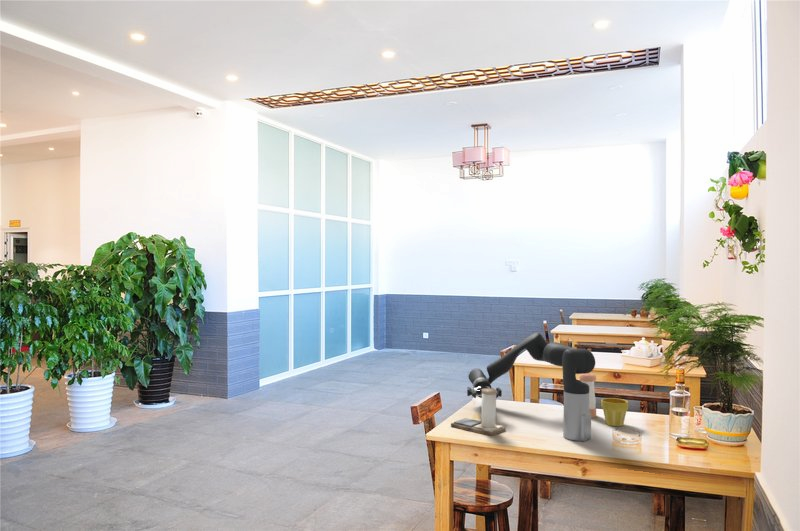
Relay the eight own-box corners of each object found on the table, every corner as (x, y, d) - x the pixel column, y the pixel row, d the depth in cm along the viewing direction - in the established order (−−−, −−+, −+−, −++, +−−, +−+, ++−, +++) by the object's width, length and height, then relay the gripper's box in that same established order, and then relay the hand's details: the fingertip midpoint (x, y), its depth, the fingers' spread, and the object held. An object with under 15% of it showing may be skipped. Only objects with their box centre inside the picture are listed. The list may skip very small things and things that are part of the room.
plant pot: (601, 419, 244) (601, 396, 244) (627, 422, 240) (627, 398, 240) (601, 426, 234) (601, 402, 234) (628, 429, 230) (628, 404, 230)
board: (505, 430, 227) (505, 425, 227) (491, 436, 219) (491, 431, 219) (465, 421, 239) (465, 417, 239) (450, 426, 232) (451, 422, 232)
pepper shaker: (594, 413, 254) (594, 369, 254) (598, 417, 247) (598, 373, 247) (577, 413, 255) (577, 369, 255) (580, 417, 247) (580, 372, 247)
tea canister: (498, 425, 227) (499, 390, 226) (490, 429, 222) (491, 392, 222) (486, 422, 230) (487, 387, 230) (477, 425, 226) (478, 390, 226)
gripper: (498, 396, 253) (503, 405, 237) (465, 395, 254) (468, 404, 237) (498, 379, 253) (503, 386, 237) (465, 378, 254) (468, 386, 237)
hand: (485, 395), depth 237 cm, fingers open, 8 cm apart
